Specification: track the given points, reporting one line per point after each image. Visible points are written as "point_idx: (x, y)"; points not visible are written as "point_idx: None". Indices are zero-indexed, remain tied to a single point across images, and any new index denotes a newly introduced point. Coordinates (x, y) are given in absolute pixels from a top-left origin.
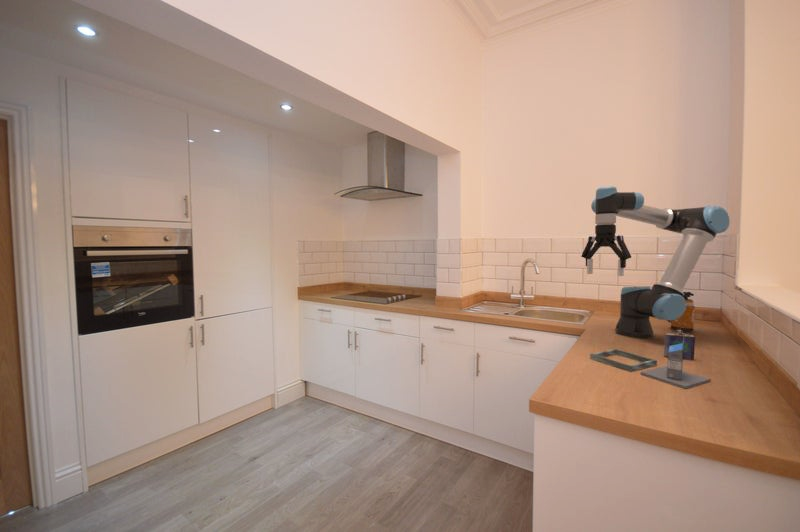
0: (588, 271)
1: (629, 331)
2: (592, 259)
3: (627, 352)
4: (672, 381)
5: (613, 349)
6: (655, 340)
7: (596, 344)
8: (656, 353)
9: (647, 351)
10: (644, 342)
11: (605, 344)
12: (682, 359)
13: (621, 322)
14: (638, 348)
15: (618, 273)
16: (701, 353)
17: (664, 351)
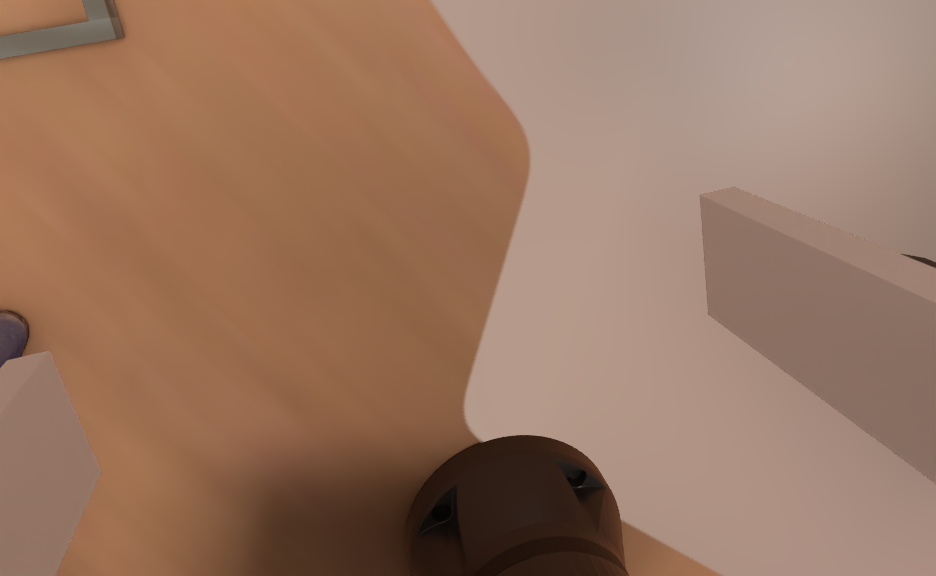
0: (728, 206)
1: (470, 473)
2: (927, 464)
3: (12, 46)
4: None
5: (104, 4)
6: (356, 541)
7: (365, 87)
8: (88, 320)
9: (139, 300)
10: (333, 446)
11: (350, 154)
12: None
13: (554, 498)
14: (215, 300)
15: (13, 381)
16: None
17: (2, 325)
